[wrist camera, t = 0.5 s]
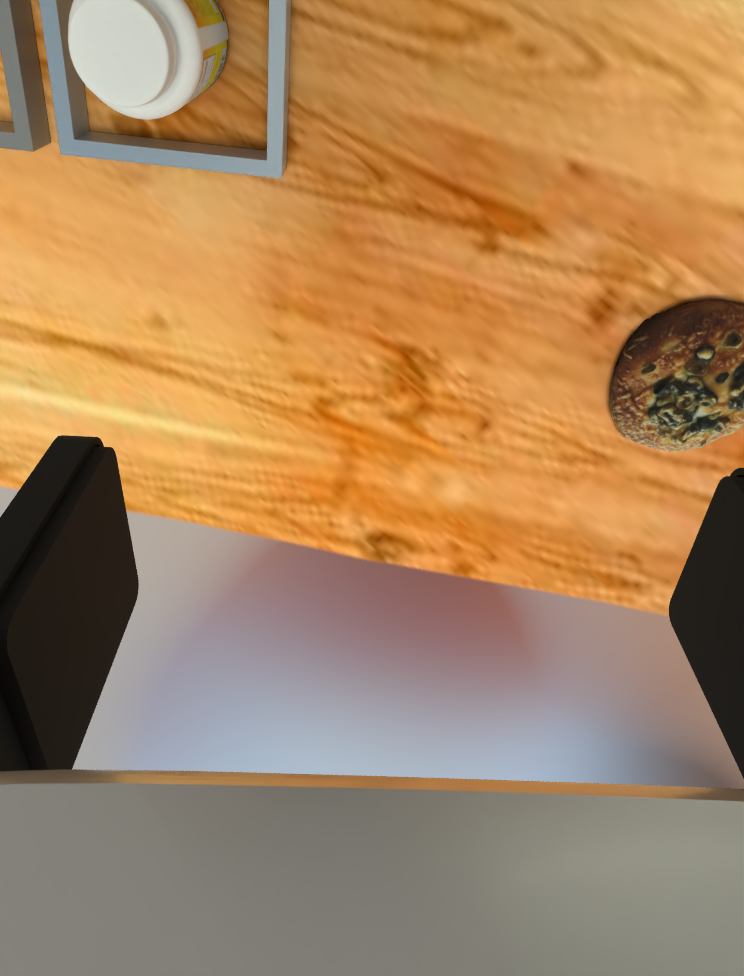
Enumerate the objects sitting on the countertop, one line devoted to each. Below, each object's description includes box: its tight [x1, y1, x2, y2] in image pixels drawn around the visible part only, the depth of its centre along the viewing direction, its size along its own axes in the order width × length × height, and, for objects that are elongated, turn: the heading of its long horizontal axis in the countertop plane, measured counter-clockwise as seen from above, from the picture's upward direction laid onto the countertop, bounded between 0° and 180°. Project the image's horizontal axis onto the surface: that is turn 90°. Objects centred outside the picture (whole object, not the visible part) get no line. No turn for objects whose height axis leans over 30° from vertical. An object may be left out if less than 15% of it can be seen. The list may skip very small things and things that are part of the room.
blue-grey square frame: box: [39, 0, 291, 178], centre depth 35 cm, size 12×12×2 cm
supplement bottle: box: [68, 0, 229, 120], centre depth 32 cm, size 6×6×10 cm
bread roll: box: [610, 300, 744, 452], centre depth 46 cm, size 11×11×5 cm
